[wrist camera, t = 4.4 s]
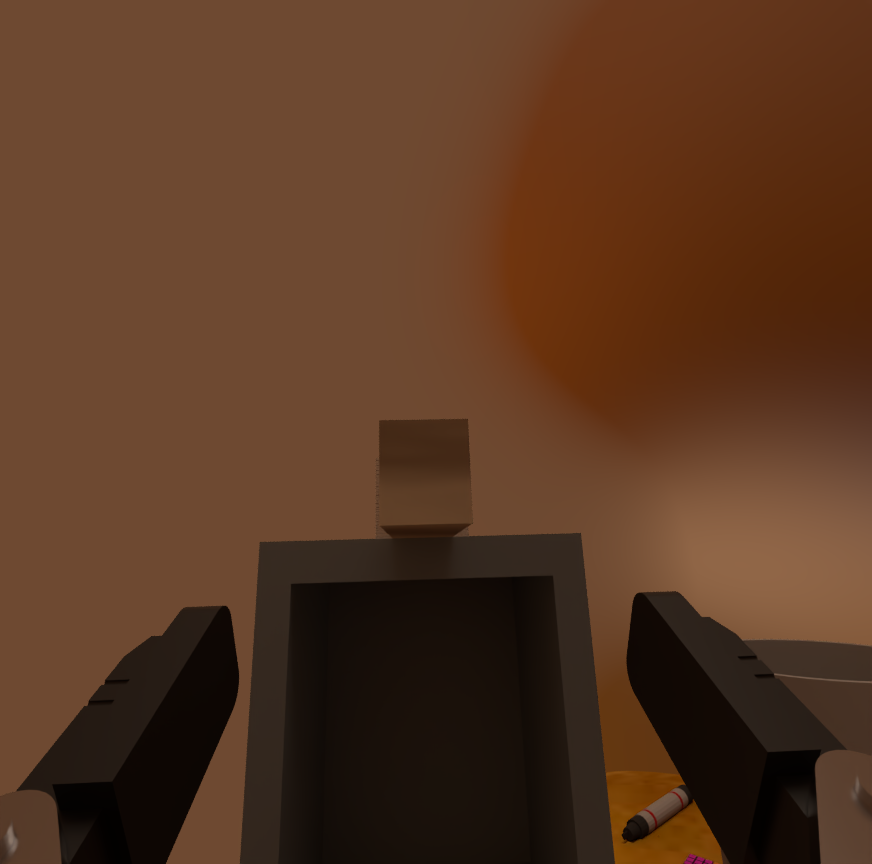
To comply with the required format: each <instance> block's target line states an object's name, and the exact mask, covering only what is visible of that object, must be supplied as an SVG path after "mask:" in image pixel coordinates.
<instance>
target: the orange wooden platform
mask: <svg viewBox="0 0 872 864" xmlns="http://www.w3.org/2000/svg"><path fill="white" fill-rule="evenodd" d="M682 864H720V863H717V862H714V861H711V860H708V859H705V858H702V857H699V856H697V855H694V854H691V853H689V854H688V856H687V857H686V859H685V860H684V861H683V863H682Z"/></svg>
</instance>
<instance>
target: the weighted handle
mask: <svg viewBox="0 0 872 864" xmlns="http://www.w3.org/2000/svg"><path fill="white" fill-rule="evenodd" d="M472 523H473V518H472V497H471V476H470V454H469V435H468V419H446V420H445V419H440V420H388V421H387V420H382V421H379V459H376V539H392V538H428V537H464V536H468V526H469V525H471V524H472Z"/></svg>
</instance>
